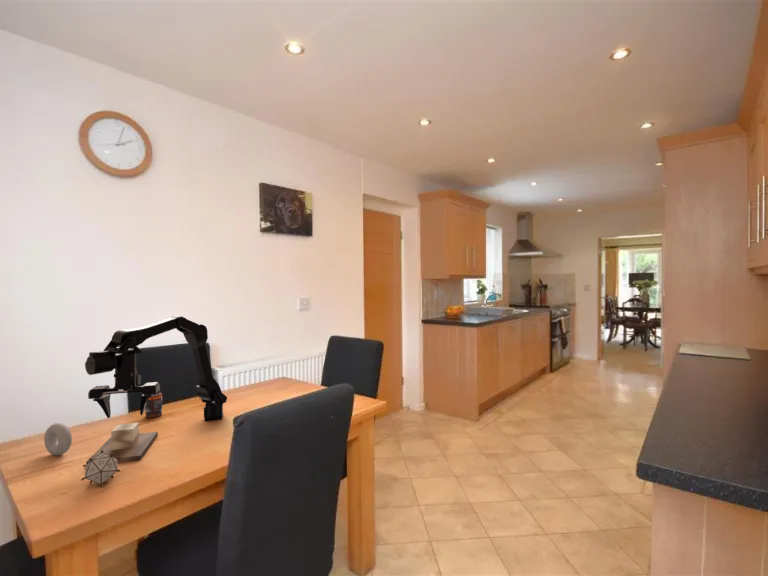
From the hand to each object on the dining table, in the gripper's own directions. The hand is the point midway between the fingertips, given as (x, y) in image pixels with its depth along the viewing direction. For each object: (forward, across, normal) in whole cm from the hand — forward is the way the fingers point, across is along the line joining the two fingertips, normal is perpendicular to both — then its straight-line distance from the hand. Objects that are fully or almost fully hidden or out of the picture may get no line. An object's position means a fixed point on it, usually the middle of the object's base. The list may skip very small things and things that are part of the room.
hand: (125, 416), depth 124 cm
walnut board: (+11, 0, 0) cm, 11 cm away
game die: (+11, -1, +22) cm, 25 cm away
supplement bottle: (+11, 0, -34) cm, 36 cm away
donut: (+11, +19, -2) cm, 22 cm away
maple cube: (+9, 0, 0) cm, 9 cm away
